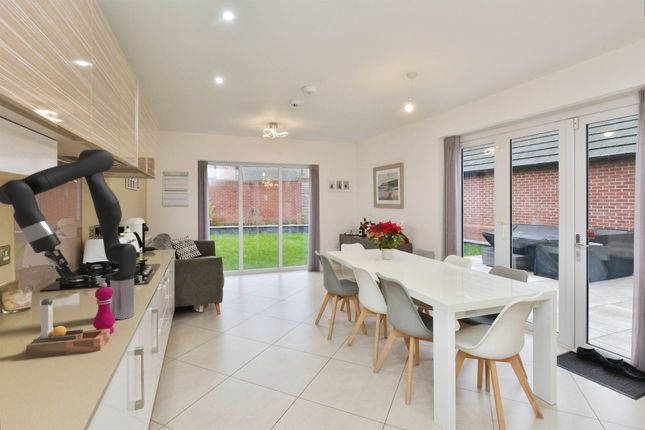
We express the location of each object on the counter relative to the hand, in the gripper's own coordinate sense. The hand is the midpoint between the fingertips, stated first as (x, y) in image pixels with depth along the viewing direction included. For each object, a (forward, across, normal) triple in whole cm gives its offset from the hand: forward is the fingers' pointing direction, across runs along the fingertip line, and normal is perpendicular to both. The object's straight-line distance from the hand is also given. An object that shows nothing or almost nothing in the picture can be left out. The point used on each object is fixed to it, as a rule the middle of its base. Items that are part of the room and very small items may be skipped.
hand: (67, 276), depth 115 cm
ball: (+16, +2, +10) cm, 19 cm away
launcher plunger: (+16, +4, +14) cm, 22 cm away
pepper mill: (+27, +8, -1) cm, 28 cm away
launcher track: (+23, +1, +10) cm, 25 cm away
